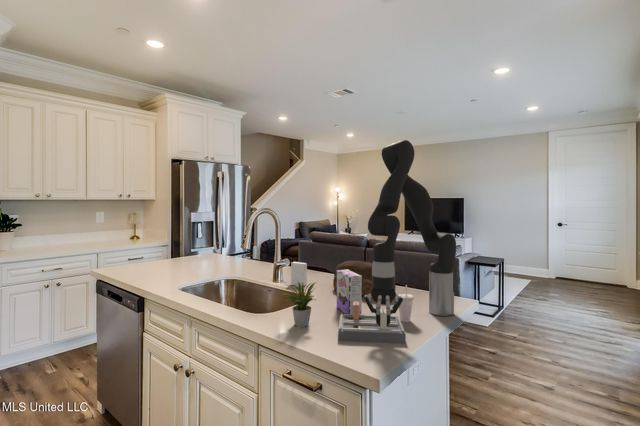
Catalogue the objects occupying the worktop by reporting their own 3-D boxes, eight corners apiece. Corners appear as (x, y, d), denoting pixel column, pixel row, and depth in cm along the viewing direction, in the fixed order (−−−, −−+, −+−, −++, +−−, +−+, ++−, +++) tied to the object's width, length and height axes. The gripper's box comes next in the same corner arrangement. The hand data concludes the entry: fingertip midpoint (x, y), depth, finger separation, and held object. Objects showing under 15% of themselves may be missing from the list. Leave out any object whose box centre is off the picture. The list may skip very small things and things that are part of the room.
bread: (385, 300, 163) (385, 267, 162) (329, 289, 182) (329, 259, 182) (398, 294, 174) (399, 262, 174) (345, 284, 194) (345, 256, 193)
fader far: (358, 316, 130) (358, 301, 129) (358, 320, 125) (359, 304, 125) (353, 316, 130) (353, 300, 130) (353, 320, 125) (353, 304, 125)
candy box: (335, 307, 152) (336, 269, 152) (348, 305, 154) (348, 268, 154) (348, 317, 139) (349, 276, 139) (362, 315, 141) (362, 275, 141)
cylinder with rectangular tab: (310, 283, 195) (310, 262, 194) (300, 287, 187) (300, 264, 187) (297, 281, 199) (297, 260, 199) (287, 285, 192) (287, 263, 191)
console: (399, 325, 130) (399, 315, 130) (405, 343, 114) (405, 331, 114) (339, 323, 132) (340, 313, 132) (338, 340, 116) (338, 329, 116)
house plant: (302, 314, 142) (302, 274, 142) (328, 322, 134) (329, 279, 133) (276, 323, 131) (276, 280, 131) (303, 332, 123) (304, 286, 122)
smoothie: (401, 324, 132) (402, 287, 131) (393, 318, 138) (394, 283, 137) (416, 322, 133) (417, 286, 133) (408, 317, 140) (408, 282, 139)
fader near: (385, 325, 121) (385, 308, 121) (386, 329, 116) (386, 312, 116) (379, 324, 121) (379, 308, 121) (380, 329, 116) (380, 312, 116)
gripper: (402, 272, 121) (402, 321, 122) (362, 271, 122) (362, 320, 123) (405, 277, 114) (405, 329, 114) (363, 276, 115) (362, 328, 116)
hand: (382, 324), depth 119 cm, fingers closed on fader near, 2 cm apart
